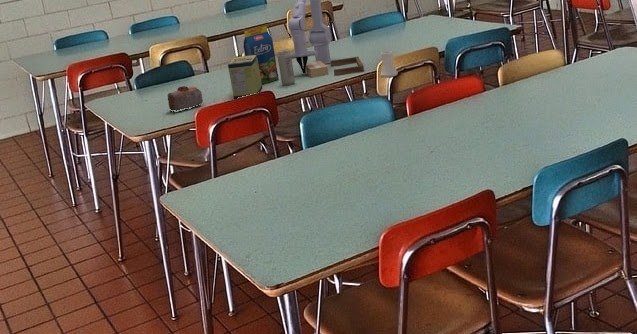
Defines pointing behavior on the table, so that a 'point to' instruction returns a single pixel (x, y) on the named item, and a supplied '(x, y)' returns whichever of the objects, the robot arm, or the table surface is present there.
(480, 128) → the table surface
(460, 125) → the table surface
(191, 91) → the food item
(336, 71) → the frame
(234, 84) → the protein box
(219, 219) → the table surface
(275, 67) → the blue food package
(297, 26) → the robot arm
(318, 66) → the carton
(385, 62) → the salt shaker
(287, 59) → the energy drink can
